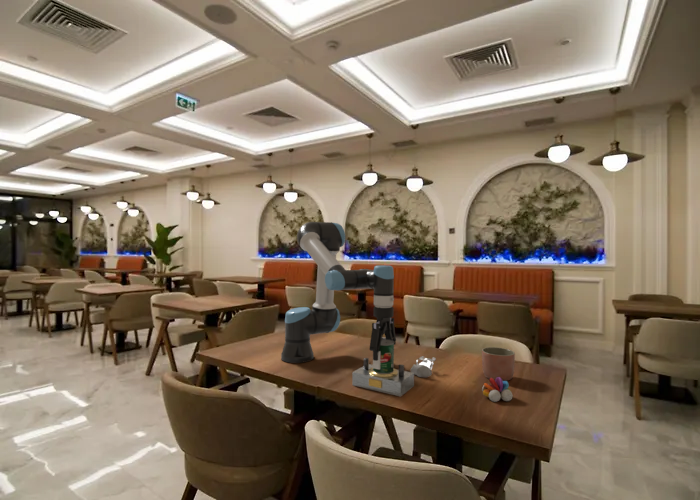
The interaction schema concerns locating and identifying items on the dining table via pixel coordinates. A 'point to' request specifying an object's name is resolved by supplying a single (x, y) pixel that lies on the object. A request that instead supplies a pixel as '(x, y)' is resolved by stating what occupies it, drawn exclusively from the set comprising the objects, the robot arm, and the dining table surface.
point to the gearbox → (383, 379)
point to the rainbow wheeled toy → (497, 390)
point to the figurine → (423, 367)
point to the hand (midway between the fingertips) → (383, 364)
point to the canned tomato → (386, 357)
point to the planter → (498, 363)
